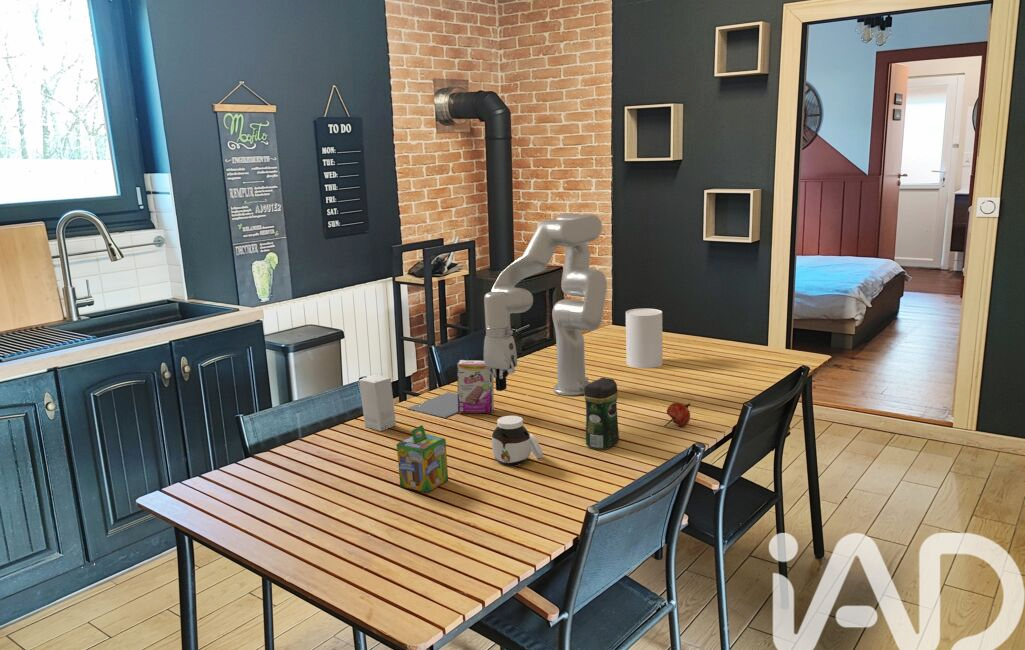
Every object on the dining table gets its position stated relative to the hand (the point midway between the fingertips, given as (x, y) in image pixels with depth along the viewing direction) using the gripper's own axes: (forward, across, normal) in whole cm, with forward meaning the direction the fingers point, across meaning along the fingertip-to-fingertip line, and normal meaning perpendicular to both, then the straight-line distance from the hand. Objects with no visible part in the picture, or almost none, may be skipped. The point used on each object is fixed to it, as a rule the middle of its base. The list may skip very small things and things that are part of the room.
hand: (501, 389), depth 239 cm
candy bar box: (+9, +11, 0) cm, 14 cm away
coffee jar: (+9, -38, +3) cm, 39 cm away
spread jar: (+9, -25, +24) cm, 36 cm away
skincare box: (+9, +28, +26) cm, 39 cm away
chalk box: (+10, -14, +49) cm, 52 cm away
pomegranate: (+9, -49, -21) cm, 54 cm away
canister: (+9, -8, -76) cm, 77 cm away
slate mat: (+9, +24, 0) cm, 26 cm away
